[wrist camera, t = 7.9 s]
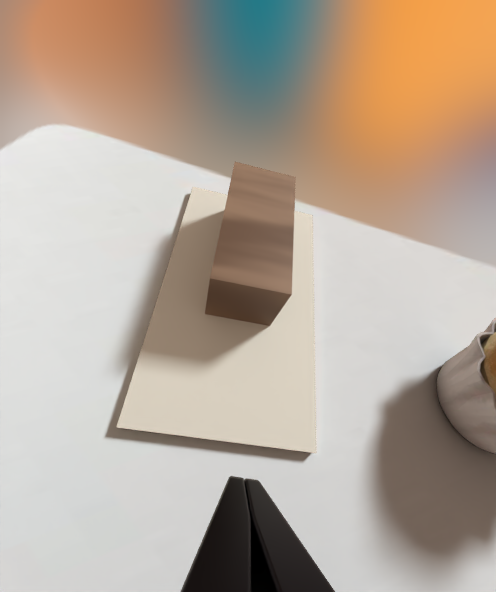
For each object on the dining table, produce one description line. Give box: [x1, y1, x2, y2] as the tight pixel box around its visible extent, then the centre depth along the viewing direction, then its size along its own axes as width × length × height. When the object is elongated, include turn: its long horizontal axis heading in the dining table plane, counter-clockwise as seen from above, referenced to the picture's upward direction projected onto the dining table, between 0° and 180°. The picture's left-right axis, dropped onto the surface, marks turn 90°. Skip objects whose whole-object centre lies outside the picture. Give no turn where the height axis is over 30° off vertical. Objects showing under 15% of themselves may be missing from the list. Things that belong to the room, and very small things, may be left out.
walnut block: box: [205, 162, 295, 326], centre depth 19 cm, size 4×4×10 cm
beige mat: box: [116, 187, 316, 453], centre depth 20 cm, size 19×11×1 cm, turn 174°
